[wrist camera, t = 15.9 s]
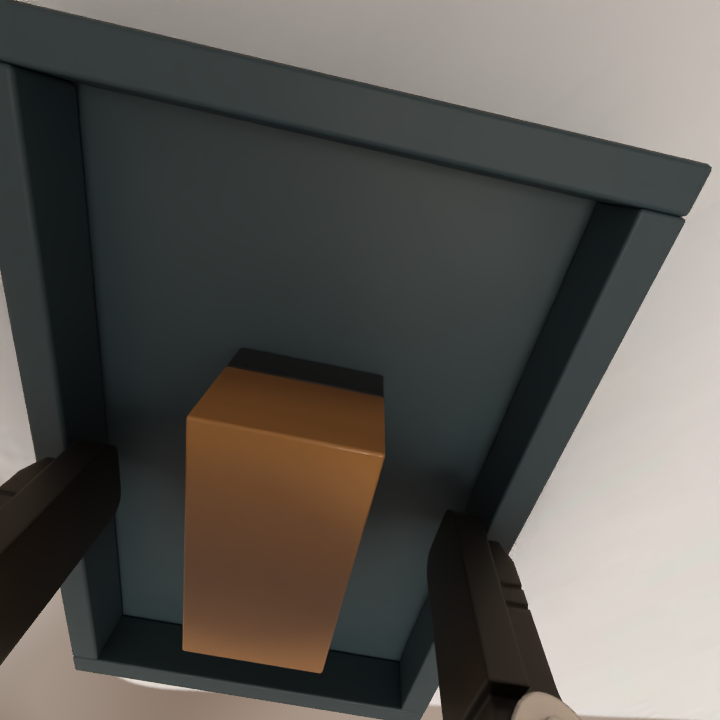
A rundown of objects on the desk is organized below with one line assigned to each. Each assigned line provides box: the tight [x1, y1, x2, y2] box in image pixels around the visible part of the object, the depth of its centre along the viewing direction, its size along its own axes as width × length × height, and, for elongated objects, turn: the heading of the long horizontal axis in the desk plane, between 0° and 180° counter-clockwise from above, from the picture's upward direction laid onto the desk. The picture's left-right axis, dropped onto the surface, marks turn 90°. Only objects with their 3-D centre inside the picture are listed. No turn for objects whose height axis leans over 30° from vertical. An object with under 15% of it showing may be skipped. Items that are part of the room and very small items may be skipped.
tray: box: [0, 0, 712, 720], centre depth 11 cm, size 18×12×2 cm, turn 168°
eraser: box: [183, 348, 385, 673], centre depth 10 cm, size 7×4×3 cm, turn 168°
